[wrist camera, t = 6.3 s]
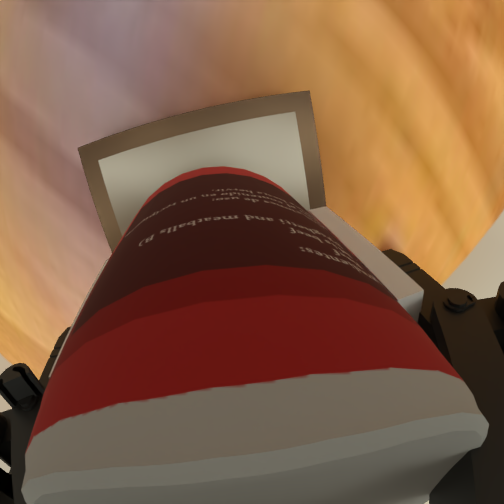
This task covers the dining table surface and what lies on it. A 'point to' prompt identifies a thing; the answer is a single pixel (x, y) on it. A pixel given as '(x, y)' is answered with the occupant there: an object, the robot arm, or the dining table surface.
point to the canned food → (244, 367)
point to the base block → (206, 154)
